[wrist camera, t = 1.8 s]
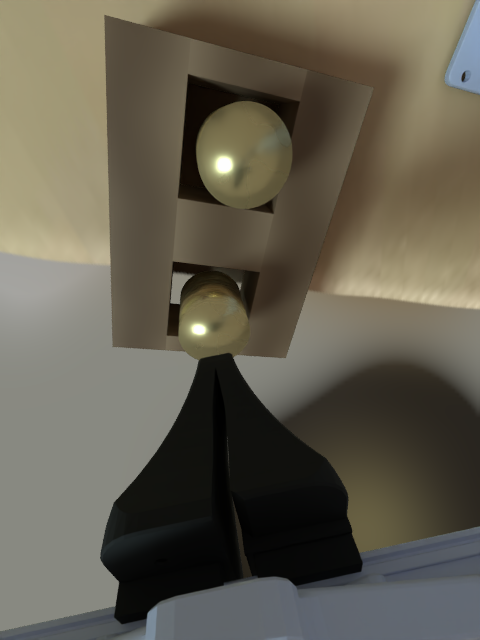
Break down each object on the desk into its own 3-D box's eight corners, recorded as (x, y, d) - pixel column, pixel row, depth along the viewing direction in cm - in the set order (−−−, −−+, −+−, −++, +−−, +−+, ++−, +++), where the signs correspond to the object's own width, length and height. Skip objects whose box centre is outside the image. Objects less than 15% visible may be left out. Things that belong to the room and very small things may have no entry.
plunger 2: (245, 274, 19) (256, 307, 15) (234, 325, 20) (243, 364, 17) (183, 267, 18) (181, 299, 15) (177, 321, 20) (175, 360, 16)
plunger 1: (279, 114, 15) (304, 113, 11) (261, 196, 16) (279, 215, 13) (200, 96, 14) (203, 89, 11) (191, 184, 16) (192, 201, 12)
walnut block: (338, 93, 17) (374, 87, 14) (272, 325, 25) (285, 358, 21) (123, 38, 15) (104, 14, 11) (124, 312, 22) (112, 346, 19)
